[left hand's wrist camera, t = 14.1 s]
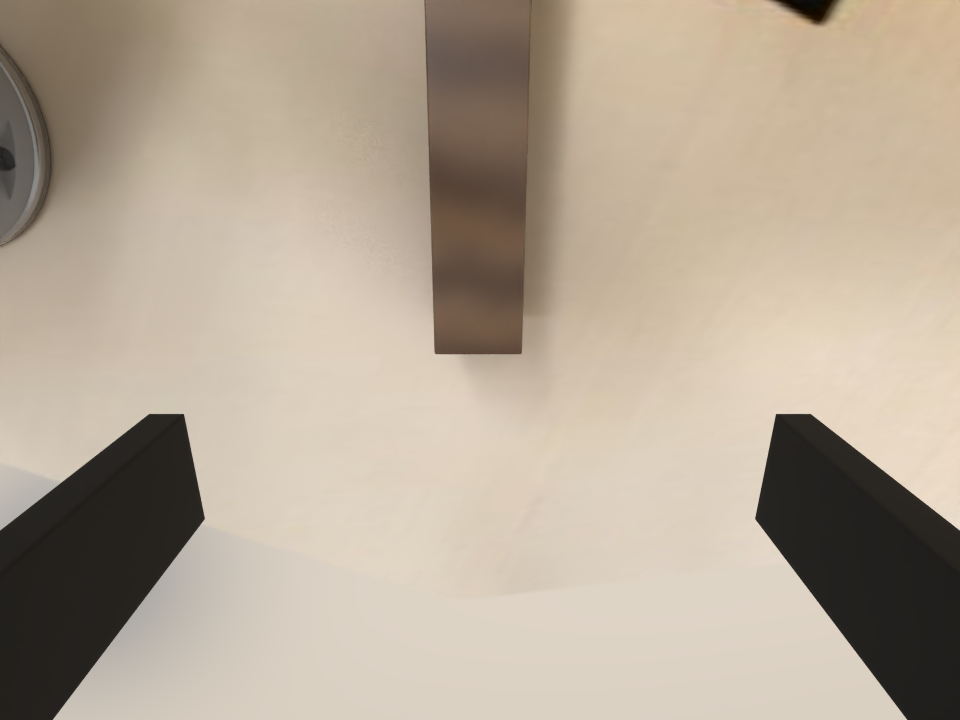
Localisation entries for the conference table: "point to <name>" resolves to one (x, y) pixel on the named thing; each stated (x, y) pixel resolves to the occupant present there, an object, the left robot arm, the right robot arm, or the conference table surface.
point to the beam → (478, 170)
